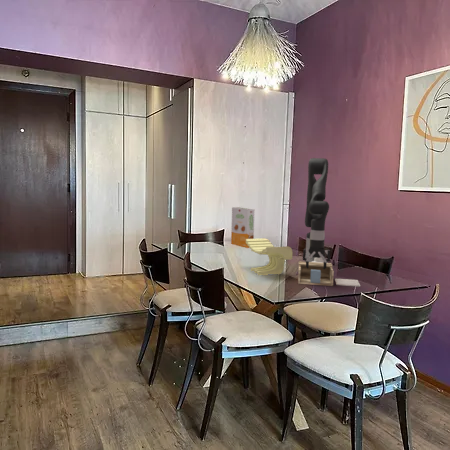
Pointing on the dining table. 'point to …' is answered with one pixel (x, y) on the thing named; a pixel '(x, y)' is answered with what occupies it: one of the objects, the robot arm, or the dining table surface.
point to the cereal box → (242, 226)
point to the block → (315, 276)
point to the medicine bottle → (319, 259)
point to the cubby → (305, 273)
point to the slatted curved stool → (274, 253)
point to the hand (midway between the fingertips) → (315, 268)
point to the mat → (347, 282)
